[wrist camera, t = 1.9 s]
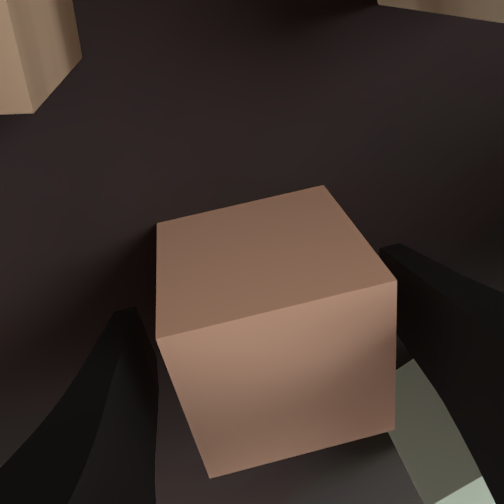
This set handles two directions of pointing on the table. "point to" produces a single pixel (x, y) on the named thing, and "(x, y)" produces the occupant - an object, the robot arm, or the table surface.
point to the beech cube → (454, 7)
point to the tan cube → (35, 51)
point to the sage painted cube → (433, 444)
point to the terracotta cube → (275, 329)
